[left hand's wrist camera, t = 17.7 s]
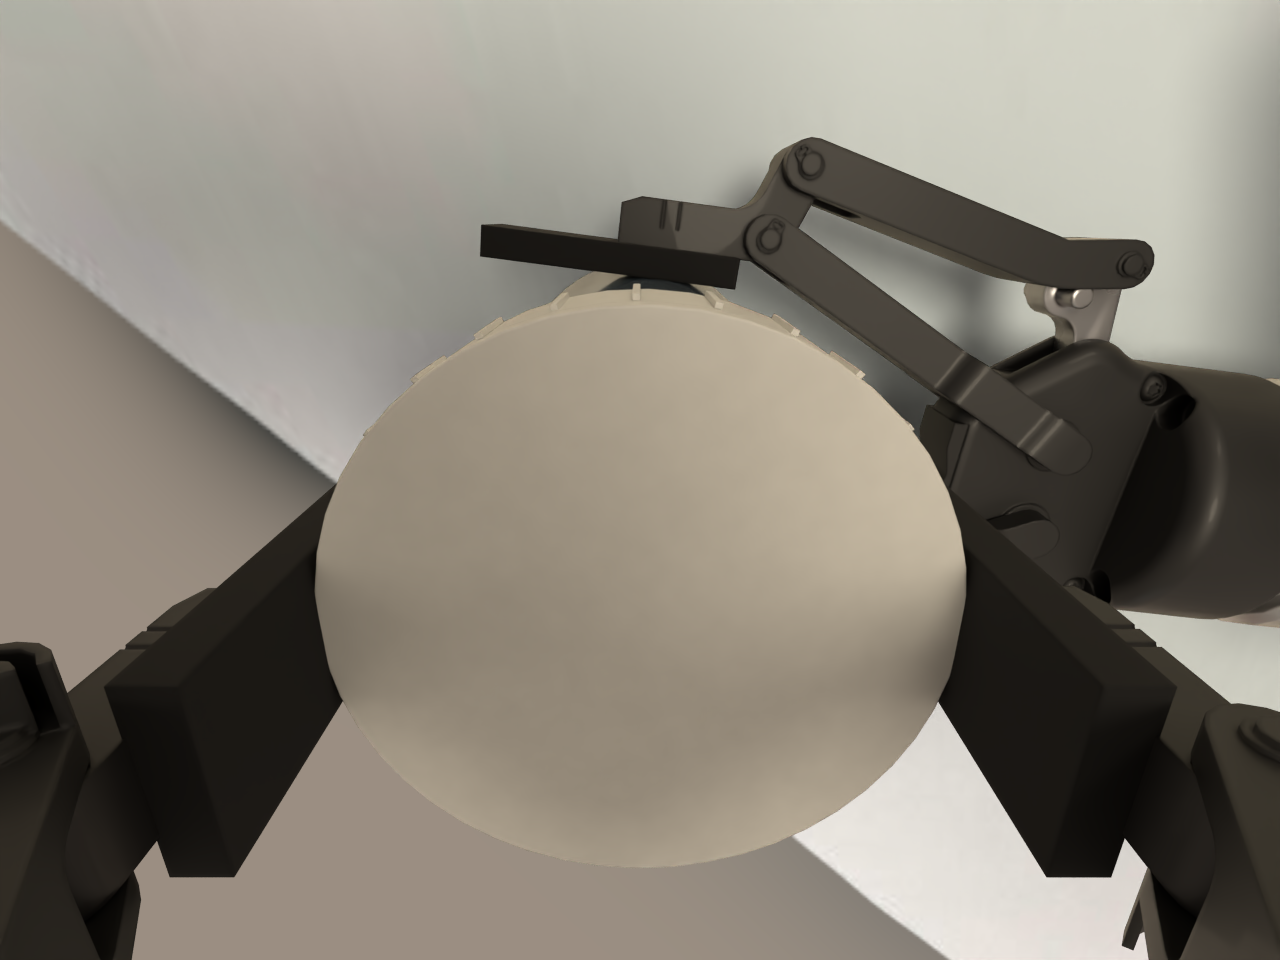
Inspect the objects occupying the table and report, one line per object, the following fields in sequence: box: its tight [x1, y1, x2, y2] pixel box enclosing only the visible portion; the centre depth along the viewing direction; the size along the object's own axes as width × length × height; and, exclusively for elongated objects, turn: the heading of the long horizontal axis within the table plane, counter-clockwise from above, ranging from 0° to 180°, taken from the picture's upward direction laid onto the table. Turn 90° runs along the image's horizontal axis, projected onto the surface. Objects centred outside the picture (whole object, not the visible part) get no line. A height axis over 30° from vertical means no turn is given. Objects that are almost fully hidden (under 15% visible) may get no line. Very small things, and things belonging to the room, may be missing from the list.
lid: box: [315, 284, 966, 868], centre depth 11 cm, size 10×10×2 cm
